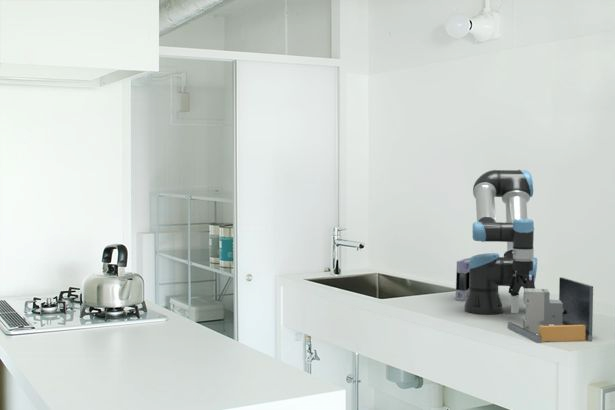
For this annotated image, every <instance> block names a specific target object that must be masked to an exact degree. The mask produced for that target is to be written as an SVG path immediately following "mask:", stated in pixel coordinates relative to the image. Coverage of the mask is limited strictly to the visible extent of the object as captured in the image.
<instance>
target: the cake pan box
mask: <svg viewBox="0 0 615 410" xmlns="http://www.w3.org/2000/svg"><path fill="white" fill-rule="evenodd" d="M470 258H471V257H467V258H463V259H461V260H457V261H456V271H455V272H456V277H455V278H456V280H455V281H456V282H455V301H459V302H466V300H467V297H468V294H469V274H470V269H469V265H470Z"/></svg>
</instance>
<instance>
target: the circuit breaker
mask: <svg viewBox="0 0 615 410" xmlns="http://www.w3.org/2000/svg"><path fill="white" fill-rule="evenodd" d="M523 304H524V305H525V316H523V317H522V328H524V329H526V330H528V331H530V332H532V333H534V334H539V326H554V325H562V317H563V314H567V311H566V309H563V303H562V302H561V301H560V300H559V299H550V291H549V290H548V288H535V289H530V288H527V289H525V288H523Z"/></svg>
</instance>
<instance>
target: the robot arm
mask: <svg viewBox="0 0 615 410" xmlns="http://www.w3.org/2000/svg"><path fill="white" fill-rule="evenodd" d="M472 194H473V197H474V199H475V207H476V208H475V209H476V221H475V222H473V223H472V240H473V241H474V242H482V243H485V242H493V243H494V242H495V243H496V242H502V243H506V248H507V250H506V251H504V252H503V256H500V254H499V253H498V252H497V253H495V252H490V253H488V252H487V253H480V254H476V255H473V256H472V255H471V257H469V258H470V265H469V269H470V274H469V294H468V297H467V300H466V301H465V303H464V312H467V313H472V314H477V315H496V314H501V313H503V311H504V310H503V308H504V307H503V303H502V300H501V297H500V293H499V287H500V286H501V287H509V288H508V294H509V295H510V296H511V297H510V298H511V300H510V302H511V303H510V304H511V305H510V312H511V314H519V311H520V309H519V307H520V305H519V304H520V301H519V299H520V297H519V296H520V290H521V288H523V289H524V288H525V289H527V288H530V289H536V285H535V282H536V276H537V268H538V258H537V257H535V256H534V254H535V253H534V251H535V250H534V249H535V248H534V235H535V234H534V231H535V227H534V226H535V225H534V220H533V219H531V218H528V209H527V208H528V207H527V206H528V205H527V203H529V202H530V200H531V198H532V197H533V196H534V182H533V177H532V174H531V172H530V171H529V170H522V169H518V170H514V169H513V170H512V169H510V170H509V169H505V170H504V169H502V170H501V169H499V170H498V169H492V170H489V171H486V172H484V173H482V174H481V175H480V176H479V177H478V178H477V179H476V180H475V182H474V184H473V188H472ZM495 198H501V201H502V203H503V204H505V219H506V220H505V221H506V222H500V221H498V222H497V215H496V202H495Z"/></svg>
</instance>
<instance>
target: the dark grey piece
mask: <svg viewBox="0 0 615 410" xmlns="http://www.w3.org/2000/svg"><path fill="white" fill-rule="evenodd" d="M558 280H559V284H558V285H559V287H558V289H559V293H558V295H559V296H558V300H560V301H561V302H562V303H563V309H566V311H567V314H563V317H562V325H585V326H586V327H585V341H587V342H592V341H593V326H594V324H593V319H594V317H593V316H594V315H593V314H594V286H593V285H589V284H587V283H583V282H581V281H577V280H573V279H569V278H566V277H559V279H558ZM553 326H555V325H553ZM507 328H508V329H510V330H511V331H513V332H515V333H517V334H519V335H521V336H523V337H525V338H527V339H529V340H531V341H533V342H535V343H537V344H540V343H542V342H541V336H539V335H536V334H534V333H532V332H530V331H528V330H526V329H524V328H523V326H519V325H517V323H513V322H510V321H508V322H507Z"/></svg>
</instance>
